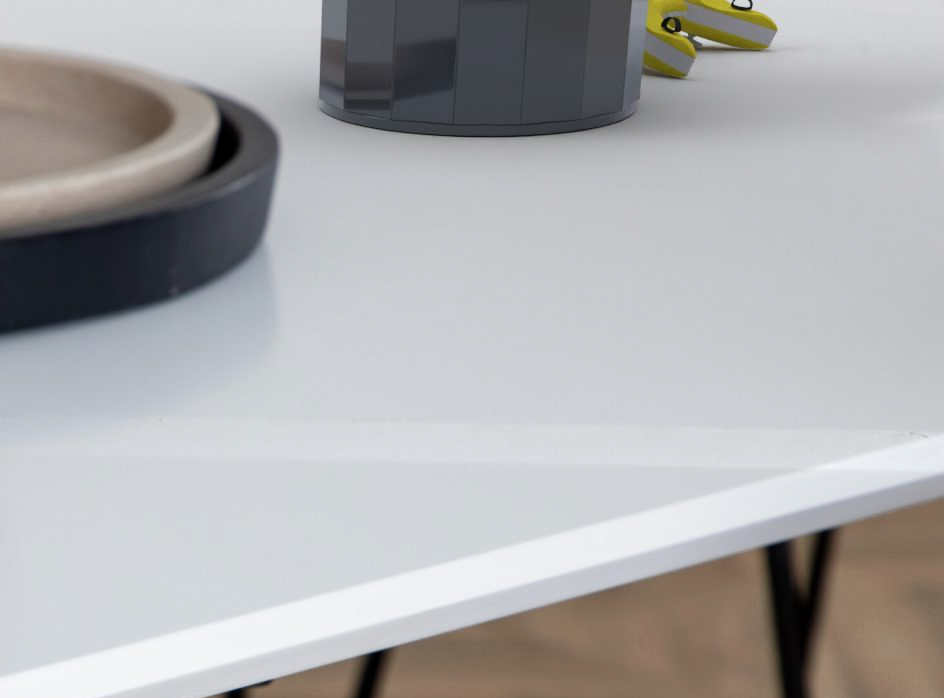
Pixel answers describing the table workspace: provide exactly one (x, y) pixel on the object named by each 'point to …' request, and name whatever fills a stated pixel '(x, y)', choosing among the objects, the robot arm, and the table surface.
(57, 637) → the table surface
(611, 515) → the table surface
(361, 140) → the table surface
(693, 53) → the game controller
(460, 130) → the tin
